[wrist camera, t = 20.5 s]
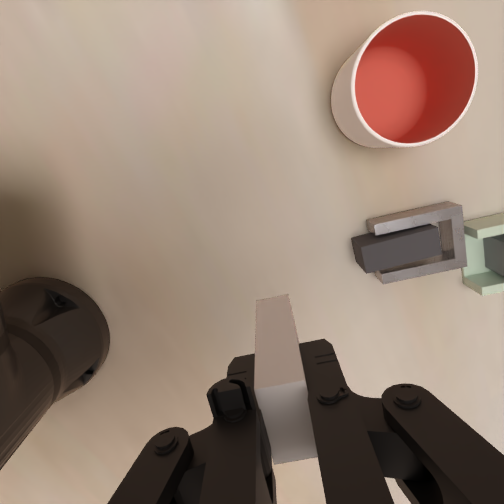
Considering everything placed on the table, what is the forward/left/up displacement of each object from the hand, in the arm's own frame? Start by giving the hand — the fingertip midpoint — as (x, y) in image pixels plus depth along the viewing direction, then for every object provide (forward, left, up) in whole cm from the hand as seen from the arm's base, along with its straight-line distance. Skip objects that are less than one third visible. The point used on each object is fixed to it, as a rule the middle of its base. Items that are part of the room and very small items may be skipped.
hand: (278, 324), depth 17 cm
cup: (+14, +10, -27) cm, 32 cm away
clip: (+15, -6, -26) cm, 31 cm away
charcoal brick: (+13, -6, -27) cm, 30 cm away
